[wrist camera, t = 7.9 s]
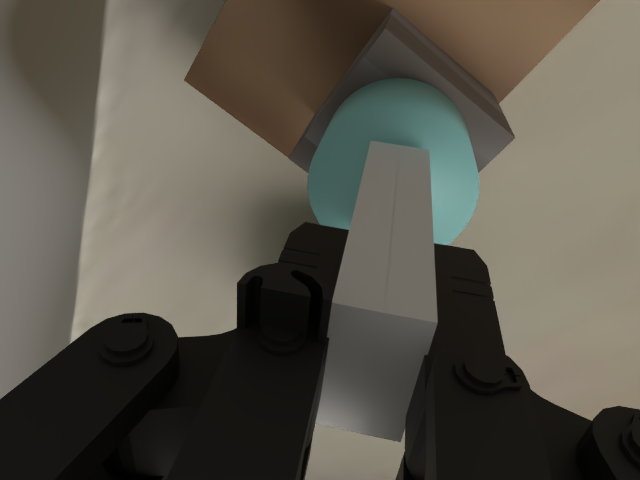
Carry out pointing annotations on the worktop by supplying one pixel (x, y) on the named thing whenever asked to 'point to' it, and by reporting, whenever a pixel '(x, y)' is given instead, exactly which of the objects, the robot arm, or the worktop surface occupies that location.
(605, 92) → the worktop surface
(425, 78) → the mount
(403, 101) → the knob
